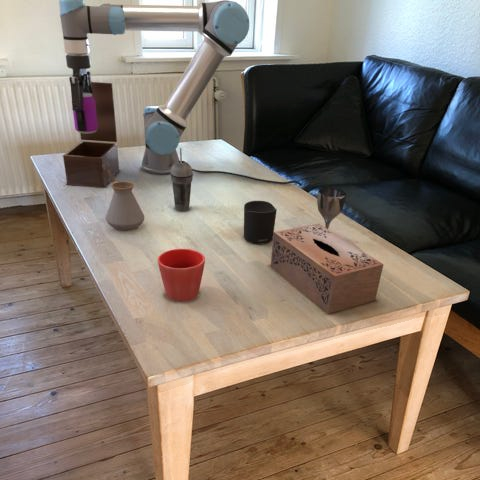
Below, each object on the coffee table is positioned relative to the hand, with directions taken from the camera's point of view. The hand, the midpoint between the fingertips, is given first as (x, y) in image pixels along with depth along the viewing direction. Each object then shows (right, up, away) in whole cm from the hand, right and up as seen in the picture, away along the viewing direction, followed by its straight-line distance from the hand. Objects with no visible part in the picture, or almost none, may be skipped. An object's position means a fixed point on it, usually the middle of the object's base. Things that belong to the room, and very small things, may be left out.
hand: (86, 127), depth 177 cm
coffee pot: (+16, -36, -18) cm, 43 cm away
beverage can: (0, -1, +1) cm, 1 cm away
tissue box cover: (+74, -57, -45) cm, 104 cm away
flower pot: (+39, -60, -53) cm, 90 cm away
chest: (-1, -14, +13) cm, 19 cm away
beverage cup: (+34, -30, -8) cm, 46 cm away
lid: (+1, +9, +9) cm, 13 cm away
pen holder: (+59, -42, -25) cm, 76 cm away
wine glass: (+79, -43, -24) cm, 93 cm away
